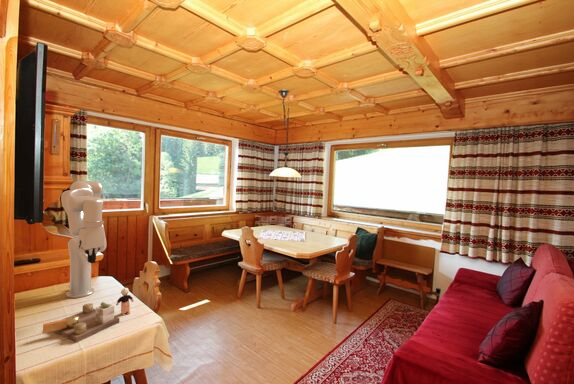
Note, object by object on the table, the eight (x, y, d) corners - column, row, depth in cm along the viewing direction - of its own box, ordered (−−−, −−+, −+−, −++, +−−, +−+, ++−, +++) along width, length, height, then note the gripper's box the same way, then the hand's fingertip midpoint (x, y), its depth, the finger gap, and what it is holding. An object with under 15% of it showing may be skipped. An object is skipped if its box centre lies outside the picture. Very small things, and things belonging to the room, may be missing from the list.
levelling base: (48, 329, 122) (48, 307, 121) (91, 312, 138) (91, 292, 138) (76, 342, 114) (76, 319, 113) (119, 322, 130) (119, 301, 130)
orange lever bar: (78, 322, 124) (78, 314, 124) (79, 326, 121) (79, 318, 121) (43, 330, 117) (43, 321, 117) (42, 335, 114) (42, 326, 113)
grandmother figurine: (130, 309, 142) (130, 284, 141) (134, 312, 140) (135, 286, 139) (114, 315, 136) (114, 289, 135) (118, 318, 134) (118, 291, 133)
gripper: (103, 221, 144) (102, 257, 145) (70, 225, 130) (69, 264, 132) (112, 223, 140) (112, 260, 142) (79, 228, 127) (79, 268, 128)
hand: (91, 262), depth 137 cm, fingers closed
